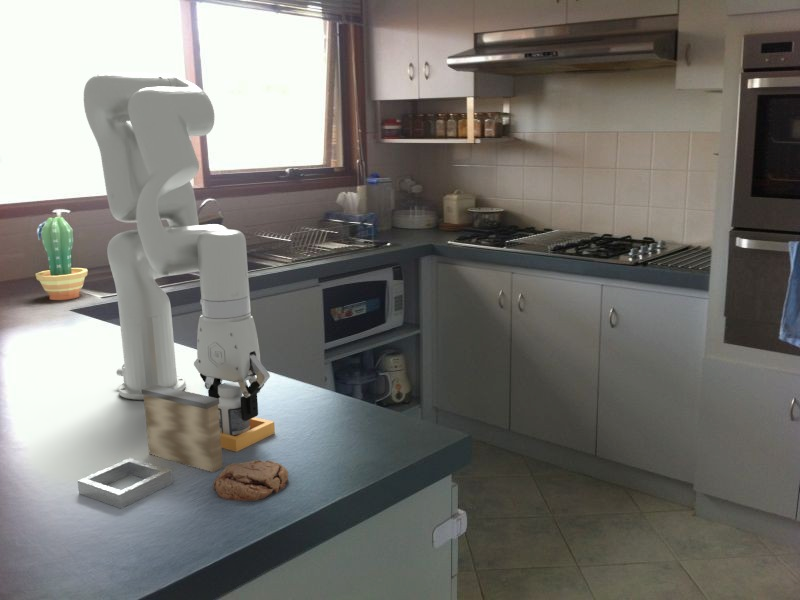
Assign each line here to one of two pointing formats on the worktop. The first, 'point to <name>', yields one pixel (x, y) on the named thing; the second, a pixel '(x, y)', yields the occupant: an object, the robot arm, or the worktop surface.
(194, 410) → the beige brown upright block
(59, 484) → the worktop surface
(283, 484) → the cookie
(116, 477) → the collar
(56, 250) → the potted cactus
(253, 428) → the collar
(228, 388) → the pill bottle
